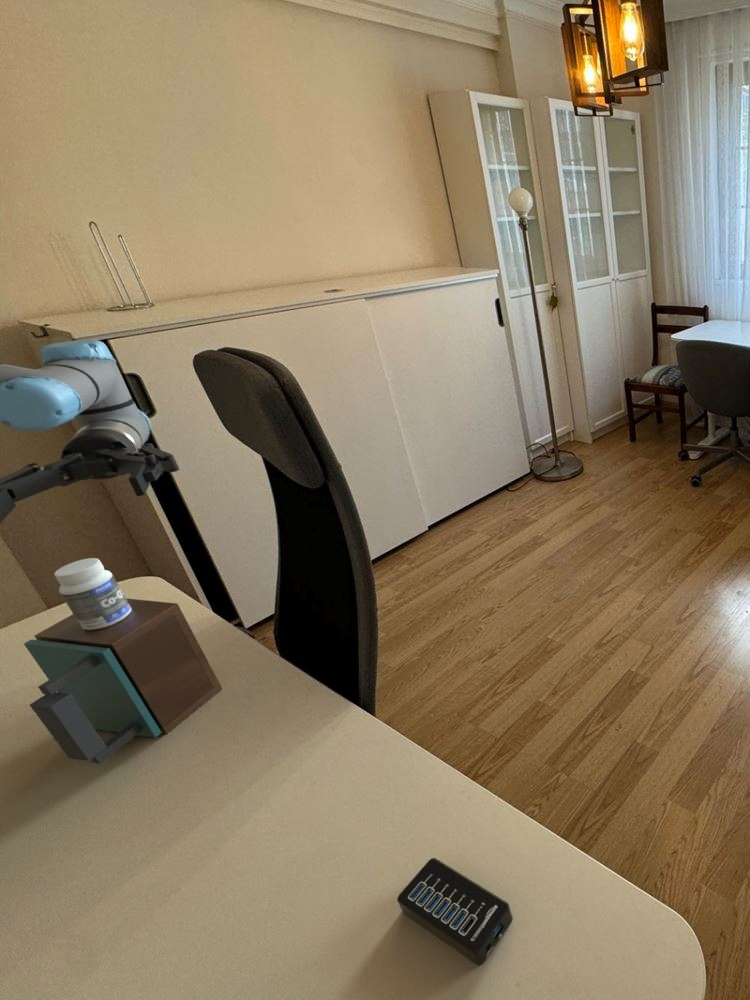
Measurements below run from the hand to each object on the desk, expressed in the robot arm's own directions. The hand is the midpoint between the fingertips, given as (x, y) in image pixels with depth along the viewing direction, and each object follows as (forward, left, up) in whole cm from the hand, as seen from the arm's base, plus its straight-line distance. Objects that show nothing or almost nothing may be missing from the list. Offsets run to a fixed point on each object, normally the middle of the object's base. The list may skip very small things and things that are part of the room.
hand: (65, 501), depth 73 cm
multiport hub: (+63, -23, -31) cm, 74 cm away
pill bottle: (+5, -5, -15) cm, 17 cm away
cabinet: (+5, -5, -31) cm, 32 cm away
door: (+5, -13, -30) cm, 33 cm away
